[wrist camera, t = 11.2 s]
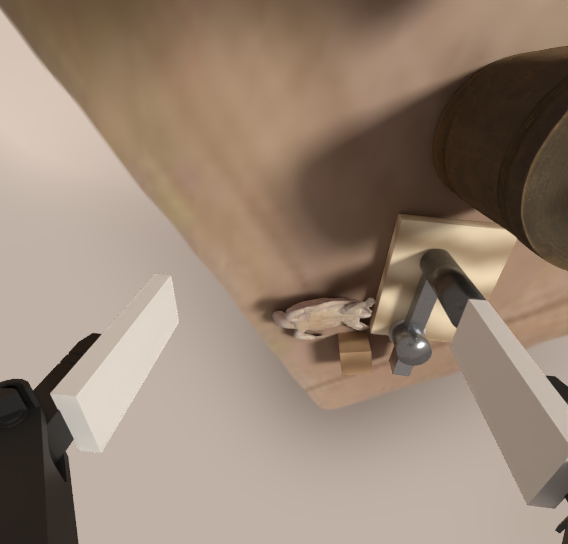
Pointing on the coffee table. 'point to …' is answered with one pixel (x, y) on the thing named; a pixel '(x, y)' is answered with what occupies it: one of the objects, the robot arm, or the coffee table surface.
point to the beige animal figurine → (323, 315)
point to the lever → (430, 308)
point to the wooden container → (513, 148)
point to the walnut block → (355, 353)
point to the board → (407, 273)
